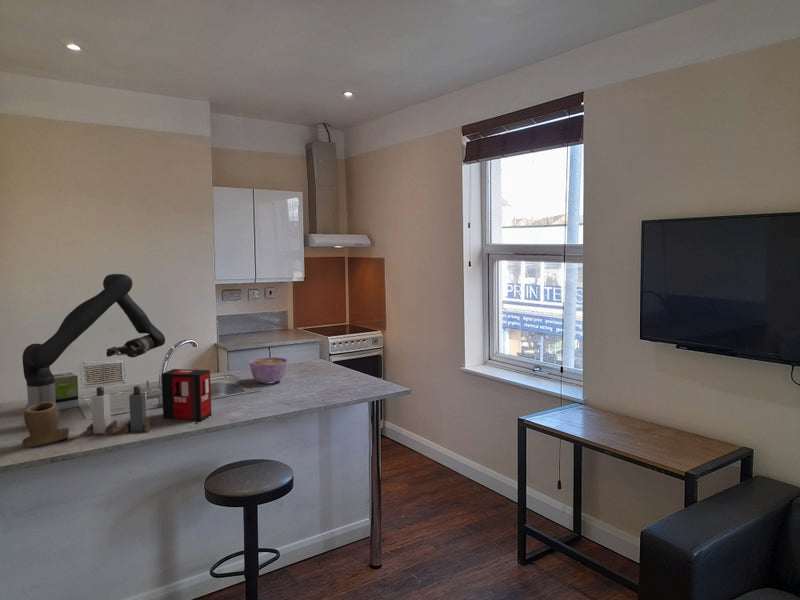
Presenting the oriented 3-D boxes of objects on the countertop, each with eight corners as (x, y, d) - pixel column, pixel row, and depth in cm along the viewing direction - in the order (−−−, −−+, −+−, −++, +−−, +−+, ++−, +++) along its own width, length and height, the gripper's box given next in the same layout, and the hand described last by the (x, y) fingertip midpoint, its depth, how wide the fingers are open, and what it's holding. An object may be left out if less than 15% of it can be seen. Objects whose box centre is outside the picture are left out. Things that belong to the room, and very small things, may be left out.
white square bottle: (93, 433, 204) (90, 389, 202) (99, 429, 208) (97, 386, 207) (105, 433, 204) (102, 389, 203) (111, 429, 209) (109, 386, 207)
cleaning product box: (211, 416, 229) (209, 370, 227) (200, 422, 220) (199, 375, 218) (175, 414, 231) (173, 369, 229) (163, 421, 222) (161, 373, 221)
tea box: (40, 414, 231) (38, 380, 230) (34, 409, 238) (32, 377, 237) (79, 407, 242) (77, 374, 241) (72, 402, 249) (70, 371, 248)
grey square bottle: (130, 431, 206) (128, 388, 205) (134, 427, 211) (132, 385, 209) (143, 431, 207) (141, 387, 206) (146, 427, 212) (144, 384, 210)
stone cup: (25, 452, 188) (23, 410, 186) (20, 443, 196) (17, 403, 195) (75, 442, 198) (73, 402, 197) (68, 434, 207) (65, 395, 205)
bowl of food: (241, 383, 286) (241, 361, 285) (270, 376, 302) (270, 355, 301) (267, 388, 275) (266, 366, 274) (295, 381, 291) (295, 360, 290)
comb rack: (84, 439, 201) (84, 429, 200) (94, 430, 210) (93, 420, 210) (148, 435, 205) (147, 425, 205) (154, 427, 215) (154, 417, 214)
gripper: (119, 338, 236) (100, 345, 219) (152, 338, 236) (135, 345, 220) (120, 355, 236) (101, 363, 220) (153, 355, 237) (136, 363, 221)
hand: (118, 354), depth 220 cm, fingers open, 8 cm apart
